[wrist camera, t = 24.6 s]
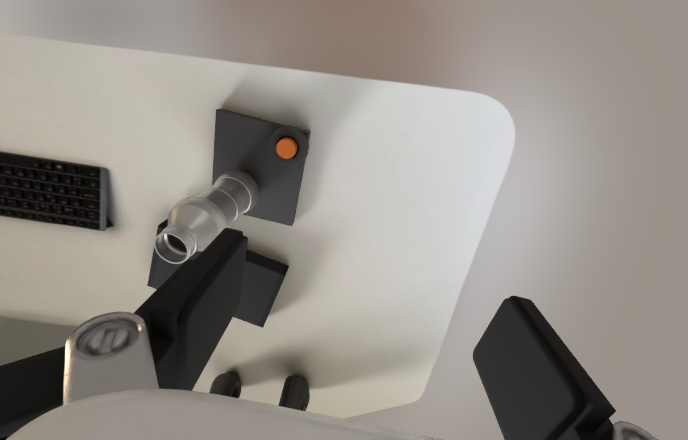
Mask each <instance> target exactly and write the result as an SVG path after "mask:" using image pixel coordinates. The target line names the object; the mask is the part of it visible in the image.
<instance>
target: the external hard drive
mask: <svg viewBox="0 0 688 440" xmlns="http://www.w3.org/2000/svg"><path fill="white" fill-rule="evenodd" d="M167 226H168V219H167V220H165V221H164V222H162V223H161V224H160V225H159V226H158V230H157V235H159V234H160V233H161V232H162V231H163V230H164V229H165V228H166V227H167ZM156 237H157V236H156ZM202 252H203V251H196V252H195V253H194V254H193V255H192V256H190V257H189V258H188V259H193V260H195V259H196V258H197V257H198V256H199V255H200V254H201V253H202ZM188 259H187V260H188ZM184 262H185V261H184ZM184 262H183V263H184ZM183 263H179V264H174V263H170V262H168V261H166V260H164V259H163V258H161V257H160V256H159V254H158V253H157V252H156V250H155V247H154V252H153V258H152V263H151V269H150V274H149V280H148V286H150V287H153V288H155V289H158V288H159V287H160V286H161V285H162V284H163V283H164V282H165V281H166V280H167V279H168V278H169V277H170V276H171V275H172V274H173V273H174V272H175V271H176V270H177V269H178V268H179V267H180V266H181V265H182V264H183ZM288 267H289V266H287V265H285V264H282V263H280V262H277V261H275V260H272V259H270V258H267V257H265V256H262V255H259V254H257V253H254V252H252V251H249V250H247V251H246V260H245V268H244V277H243V286H242V295H241V300H240V303H239V306H238V308H237V310H236V312H235V313H234V315H233V317H235V318H238V319H241V320H243V321H246V322H249V323H252V324H254V325H257V326H260V327H263V326H264V324H265V321H266V319H267V317H268V315H269V312H270V310H271V308H272V305H273V303H274V301H275V298H276V296H277V294H278V291H279V289H280V287H281V284H282V282H283V280H284V277H285V275H286V272H287V270H288Z"/></svg>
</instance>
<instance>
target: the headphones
mask: <svg viewBox="0 0 688 440" xmlns="http://www.w3.org/2000/svg"><path fill="white" fill-rule="evenodd" d="M209 393H210V394H217V395H223V396H228V397H233V398H239V396H240V393H241V384H240V380H239V377H238V375H237V374H232V373H227V374H221V375H219V376H218V377H216V379H215V380H214V381H213V383H212V385H211V388H210V392H209ZM309 398H310V395H309V386H308V383H307V381H306V380H305V379H304V378H302V377H297V376H293V377H292V376H289V377H287V379H286V380H285V383H284V387H283V391H282V395H281V398H280V402H279V406H281V407H286V408H291V409H296V410H301V411H305V410H306V408H307V406H308V403H309Z"/></svg>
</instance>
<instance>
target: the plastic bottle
mask: <svg viewBox="0 0 688 440" xmlns="http://www.w3.org/2000/svg"><path fill="white" fill-rule="evenodd" d="M258 197H259V188H258V185H257V183H256V181H255V180H254V179H253V177H252V176H250V175H249V174H248V173H246V172H243V171H240V170H233V171H229V172H226V173H224V174H222V175H221V176H220V177H219V178H218V179H217V180H216V182H215V183H214V185H212V186H211V187H210V188H209V189H208V190H206V191H204V192H202V193H201V194H198V195H196V196H193V197H190V198H187V199H185V200H183V201H181V202H179V203H177V204H176V205H175V206H174V207H173V209H172V211H171V212H170V214H169V217H168V226H167V227H166V228H165V229H164V230H163V231H162V232H161V233H160V234H159V235H157V237H156V238H155V241H154V247H155V250H156V252H157V253H158V254H159V256H160V257H161V258H163V259H164V260H166V261H168V262H170V263H174V264H179V263H183V262H184V261H186V260H187V259H188V258H189V257H190V256H192V255H193V254H194V253H195V252H196V251H204V249H205V248H206V247H207V246H208V245H209V244H210V243H211V242H212V241H213V240H214V239H215V238H216V237H217V236H218V235H219V234H220V233H221V231H222V230H223V229H224V228H229V227H230V226H231V224H232V223H233V222H234V221H235V219H236V218H238V217H239V216H240V215H241V214H243V213H245V212H247V211H249V210H250V209H252V208H253V207H254V206H255V204H256V202H257V200H258Z"/></svg>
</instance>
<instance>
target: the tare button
mask: <svg viewBox="0 0 688 440" xmlns="http://www.w3.org/2000/svg"><path fill="white" fill-rule="evenodd" d="M276 150H277V153H278V154H279V156H281V157H282V158H285V159H289V158H291V157H293V156H294V155H295V154H296V152H297V144H296V142H295V141H294V140H293V139H292V138H288V137H287V138H283V139H282V140H280V141H279V142H278V143H277V146H276Z"/></svg>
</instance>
